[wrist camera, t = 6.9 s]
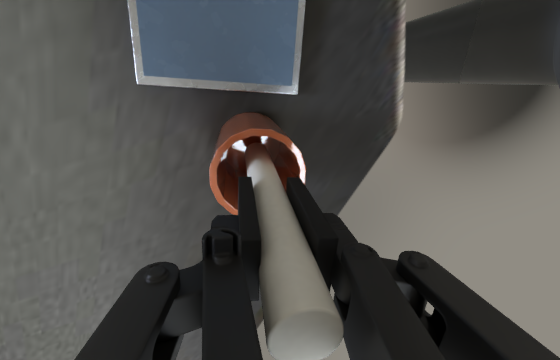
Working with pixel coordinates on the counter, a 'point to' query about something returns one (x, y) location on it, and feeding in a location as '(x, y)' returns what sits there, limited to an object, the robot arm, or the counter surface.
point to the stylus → (289, 273)
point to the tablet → (218, 44)
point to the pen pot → (232, 155)
